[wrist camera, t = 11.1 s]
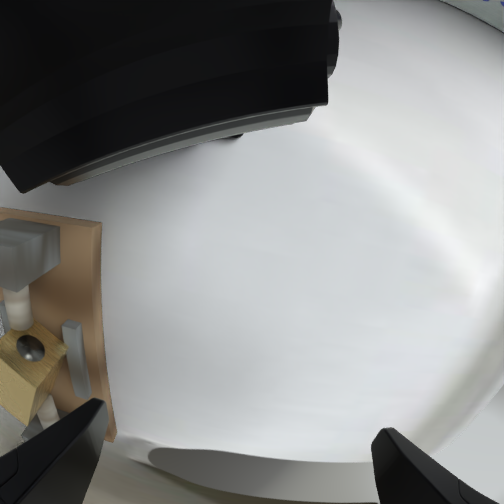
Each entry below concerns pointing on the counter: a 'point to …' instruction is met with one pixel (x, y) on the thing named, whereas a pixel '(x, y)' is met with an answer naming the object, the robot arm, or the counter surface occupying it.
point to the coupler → (28, 369)
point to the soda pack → (483, 10)
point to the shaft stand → (57, 303)
